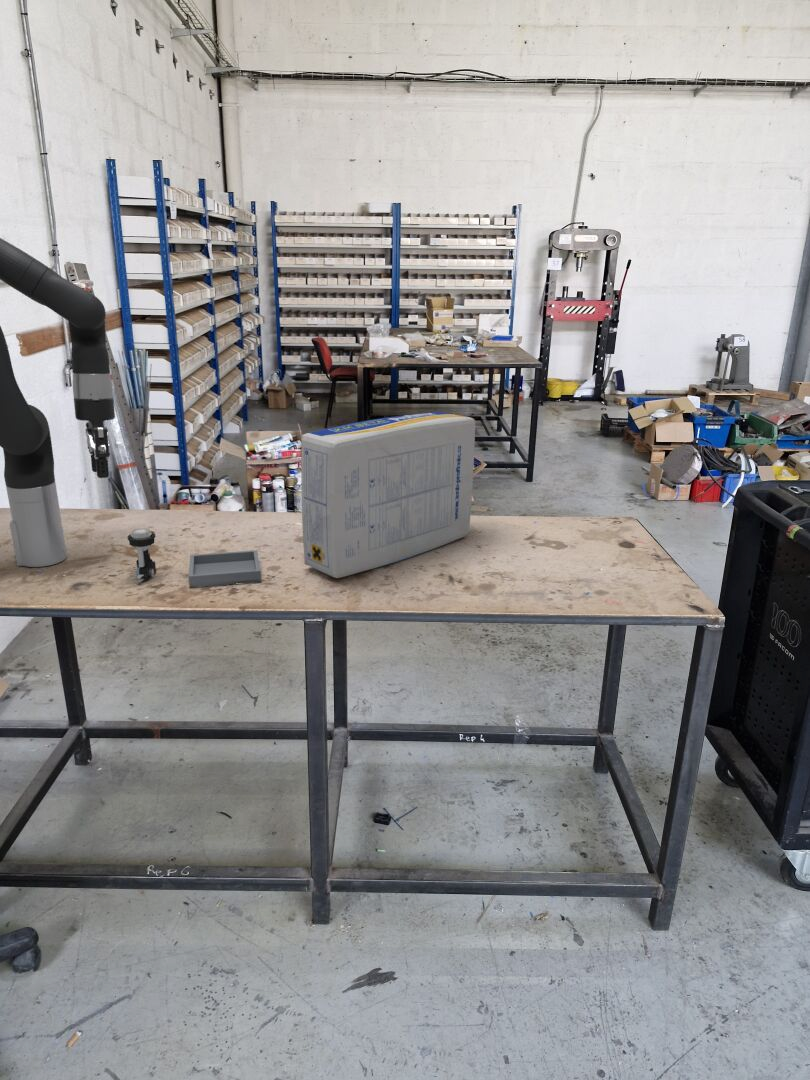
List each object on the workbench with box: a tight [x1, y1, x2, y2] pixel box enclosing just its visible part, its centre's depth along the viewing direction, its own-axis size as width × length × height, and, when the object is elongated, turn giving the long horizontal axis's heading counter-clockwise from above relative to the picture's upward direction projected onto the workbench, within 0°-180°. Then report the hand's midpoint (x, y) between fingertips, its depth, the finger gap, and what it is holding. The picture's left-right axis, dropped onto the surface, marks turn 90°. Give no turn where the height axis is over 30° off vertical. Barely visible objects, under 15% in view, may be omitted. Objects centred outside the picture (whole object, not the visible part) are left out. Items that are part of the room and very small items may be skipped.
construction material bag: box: [300, 411, 476, 579], centre depth 157 cm, size 43×12×30 cm, turn 134°
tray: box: [188, 549, 262, 589], centre depth 148 cm, size 14×12×2 cm
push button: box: [126, 528, 157, 583], centre depth 144 cm, size 7×5×10 cm
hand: (100, 474), depth 150 cm, fingers open, 8 cm apart
